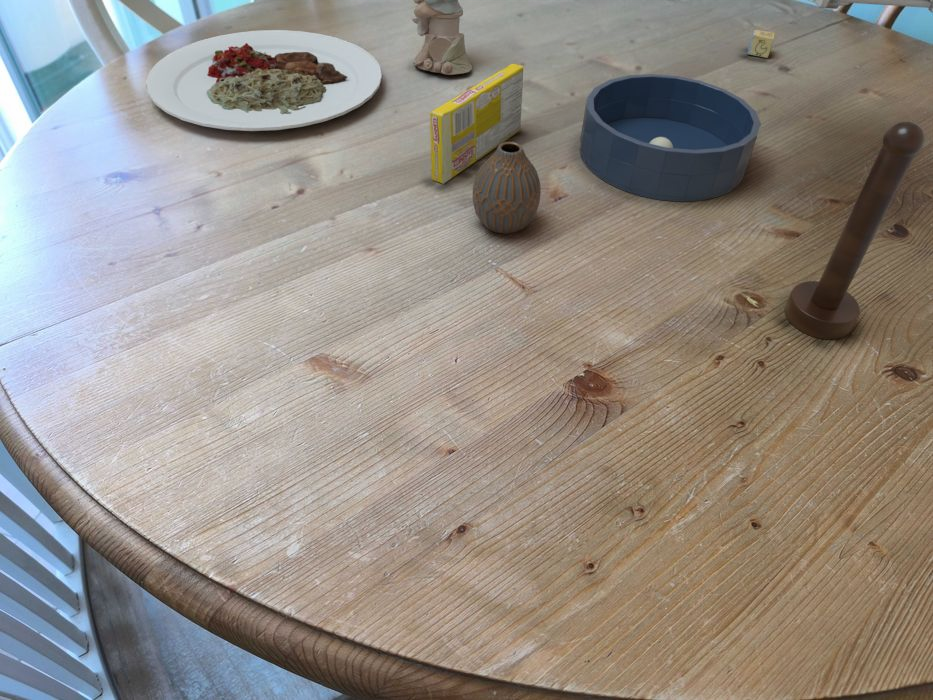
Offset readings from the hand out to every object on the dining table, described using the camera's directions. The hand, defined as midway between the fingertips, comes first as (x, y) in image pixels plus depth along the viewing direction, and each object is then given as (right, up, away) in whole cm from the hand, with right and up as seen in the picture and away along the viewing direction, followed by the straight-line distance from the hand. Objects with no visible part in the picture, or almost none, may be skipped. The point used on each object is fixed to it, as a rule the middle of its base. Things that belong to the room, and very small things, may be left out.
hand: (890, 2), depth 62 cm
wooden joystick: (-2, -26, +8) cm, 27 cm away
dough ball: (-12, -5, +26) cm, 29 cm away
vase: (-31, -15, +17) cm, 39 cm away
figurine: (-38, +12, +45) cm, 60 cm away
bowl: (-12, -5, +29) cm, 31 cm away
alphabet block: (+10, +17, +53) cm, 57 cm away
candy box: (-34, -5, +28) cm, 44 cm away
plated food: (-61, +6, +38) cm, 72 cm away
